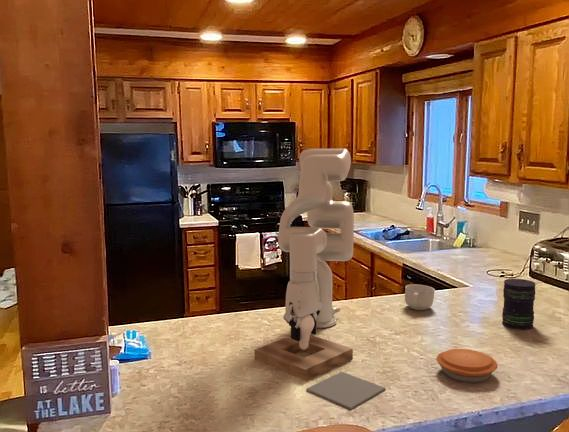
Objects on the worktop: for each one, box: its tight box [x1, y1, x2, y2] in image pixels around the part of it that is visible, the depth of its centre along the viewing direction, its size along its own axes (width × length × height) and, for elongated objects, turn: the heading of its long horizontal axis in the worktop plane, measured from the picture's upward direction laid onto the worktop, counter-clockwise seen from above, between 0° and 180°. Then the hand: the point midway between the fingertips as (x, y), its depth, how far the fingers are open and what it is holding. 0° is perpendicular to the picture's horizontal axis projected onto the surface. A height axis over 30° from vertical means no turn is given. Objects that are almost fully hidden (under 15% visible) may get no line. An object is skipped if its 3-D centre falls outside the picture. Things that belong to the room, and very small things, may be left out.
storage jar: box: [501, 278, 536, 331], centre depth 177 cm, size 10×10×15 cm
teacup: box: [404, 283, 436, 311], centre depth 196 cm, size 14×11×8 cm
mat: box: [306, 371, 386, 410], centre depth 131 cm, size 14×14×1 cm
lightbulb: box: [294, 314, 314, 350], centre depth 151 cm, size 6×6×11 cm
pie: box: [436, 348, 499, 384], centre depth 140 cm, size 16×16×5 cm
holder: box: [253, 334, 354, 381], centre depth 151 cm, size 20×20×3 cm
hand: (303, 336), depth 151 cm, fingers closed on lightbulb, 6 cm apart
